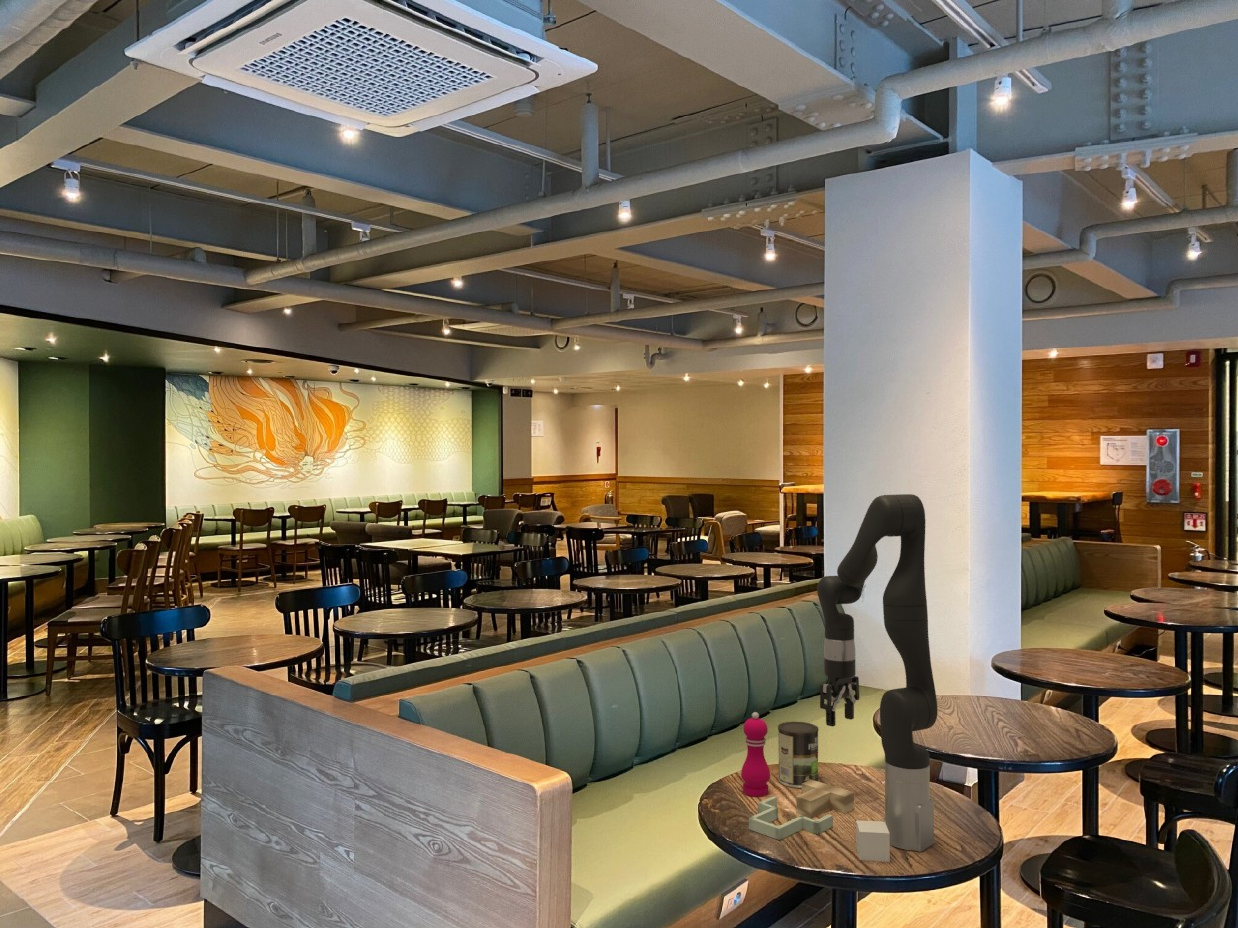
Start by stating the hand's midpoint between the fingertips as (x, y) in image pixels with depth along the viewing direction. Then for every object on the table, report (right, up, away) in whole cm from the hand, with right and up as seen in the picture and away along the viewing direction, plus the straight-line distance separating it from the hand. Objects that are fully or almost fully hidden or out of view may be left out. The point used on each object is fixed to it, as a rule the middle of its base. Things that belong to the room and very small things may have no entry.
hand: (840, 722), depth 219 cm
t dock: (-17, -18, -17) cm, 31 cm away
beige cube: (-1, -19, -33) cm, 38 cm away
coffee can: (-8, -19, +11) cm, 23 cm away
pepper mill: (-20, -19, +3) cm, 28 cm away
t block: (-7, -18, -8) cm, 21 cm away
